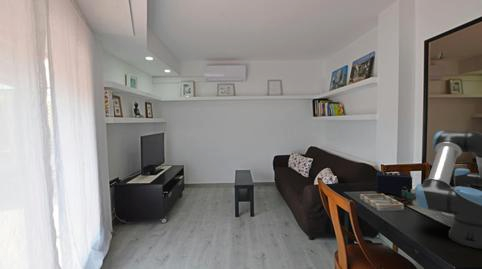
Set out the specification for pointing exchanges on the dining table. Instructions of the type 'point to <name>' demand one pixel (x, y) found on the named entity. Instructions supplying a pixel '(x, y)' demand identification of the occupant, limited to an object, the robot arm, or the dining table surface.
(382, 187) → the speaker
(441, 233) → the dining table surface
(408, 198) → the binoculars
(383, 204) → the tray
